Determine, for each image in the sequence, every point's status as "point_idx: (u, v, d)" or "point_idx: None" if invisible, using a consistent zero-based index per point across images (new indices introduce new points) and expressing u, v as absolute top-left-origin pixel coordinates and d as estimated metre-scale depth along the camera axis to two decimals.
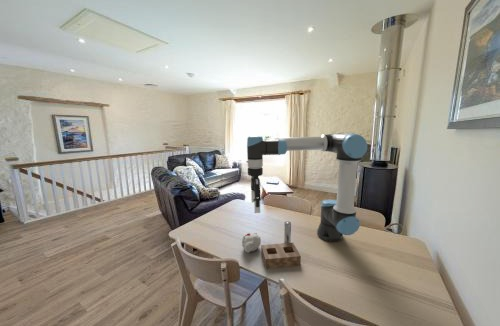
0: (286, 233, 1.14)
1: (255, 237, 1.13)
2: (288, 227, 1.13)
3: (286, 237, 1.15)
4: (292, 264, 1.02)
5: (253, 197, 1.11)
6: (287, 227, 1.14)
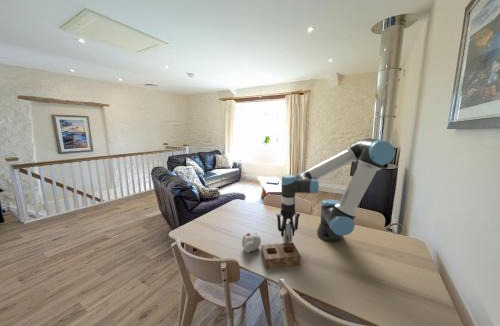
0: (286, 233, 1.14)
1: (255, 237, 1.13)
2: (288, 227, 1.13)
3: (286, 237, 1.15)
4: (292, 264, 1.02)
5: None
6: (287, 227, 1.14)
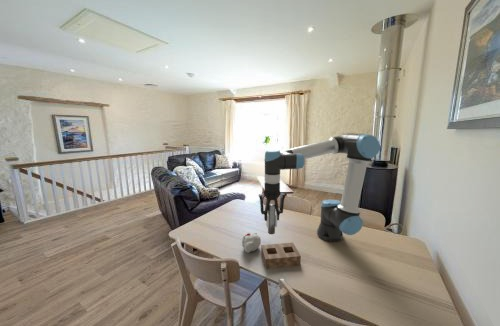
0: (270, 217, 1.01)
1: (255, 237, 1.13)
2: (272, 210, 1.00)
3: (270, 221, 1.01)
4: (292, 264, 1.02)
5: None
6: (271, 210, 1.00)
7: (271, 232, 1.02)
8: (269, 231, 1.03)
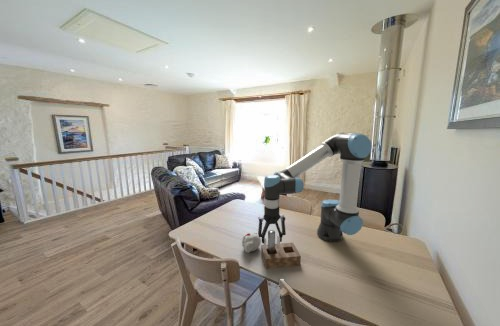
0: (270, 243, 1.03)
1: (255, 237, 1.13)
2: (271, 237, 1.02)
3: (270, 248, 1.04)
4: (292, 264, 1.02)
5: (277, 241, 1.05)
6: (271, 237, 1.02)
7: None
8: None
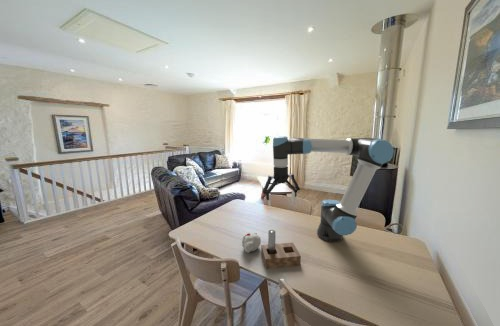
0: (270, 243, 1.03)
1: (255, 237, 1.13)
2: (272, 236, 1.02)
3: (270, 247, 1.04)
4: (292, 264, 1.02)
5: (292, 197, 1.11)
6: (271, 236, 1.02)
7: None
8: None
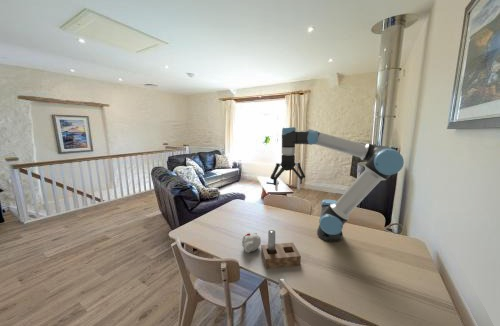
0: (270, 243, 1.03)
1: (255, 237, 1.13)
2: (272, 237, 1.02)
3: (270, 248, 1.04)
4: (292, 264, 1.02)
5: (298, 184, 1.20)
6: (271, 237, 1.02)
7: None
8: None
